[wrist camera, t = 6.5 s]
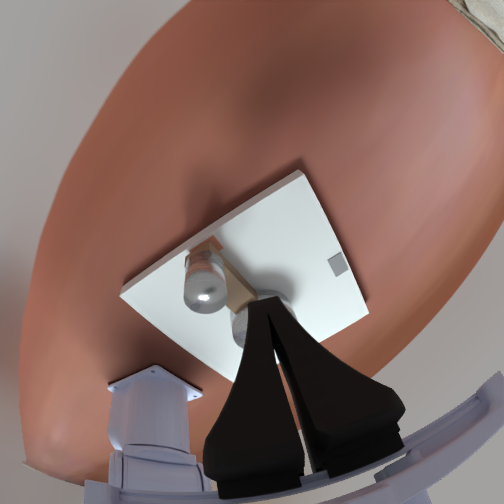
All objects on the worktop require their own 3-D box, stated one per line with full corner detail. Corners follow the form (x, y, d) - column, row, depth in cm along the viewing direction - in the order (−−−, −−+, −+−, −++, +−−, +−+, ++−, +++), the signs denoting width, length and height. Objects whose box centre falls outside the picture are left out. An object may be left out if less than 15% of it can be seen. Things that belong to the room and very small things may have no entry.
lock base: (233, 374, 28) (234, 383, 27) (122, 286, 20) (119, 296, 19) (363, 305, 26) (369, 313, 25) (298, 169, 17) (304, 174, 16)
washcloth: (423, -70, 4) (441, -76, 2) (513, 9, 7) (529, 10, 5) (437, 2, 11) (460, -1, 8) (520, 76, 14) (538, 81, 11)
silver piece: (301, 313, 22) (317, 351, 19) (252, 341, 23) (261, 380, 20) (223, 222, 17) (229, 258, 13) (165, 265, 18) (158, 307, 14)
